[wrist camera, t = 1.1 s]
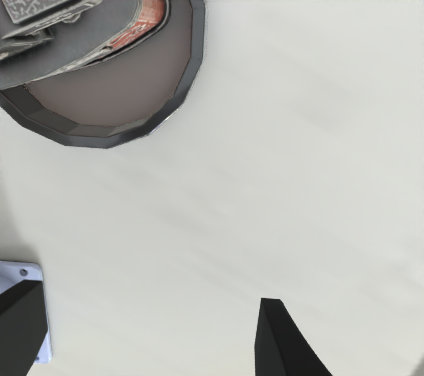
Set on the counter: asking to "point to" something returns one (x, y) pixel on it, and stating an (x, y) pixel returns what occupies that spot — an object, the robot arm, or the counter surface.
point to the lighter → (71, 34)
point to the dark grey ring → (100, 135)
